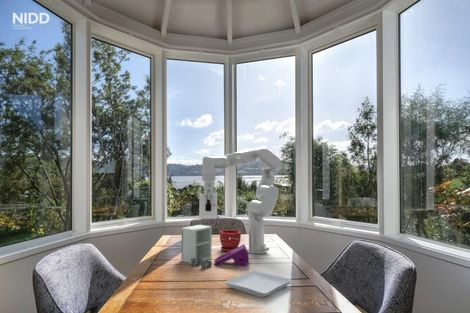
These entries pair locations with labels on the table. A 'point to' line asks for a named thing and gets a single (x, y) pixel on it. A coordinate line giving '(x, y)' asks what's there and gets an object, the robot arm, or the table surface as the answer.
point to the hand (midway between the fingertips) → (208, 210)
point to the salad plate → (258, 283)
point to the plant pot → (229, 243)
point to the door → (202, 204)
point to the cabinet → (196, 243)
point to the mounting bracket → (235, 256)
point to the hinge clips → (201, 263)
